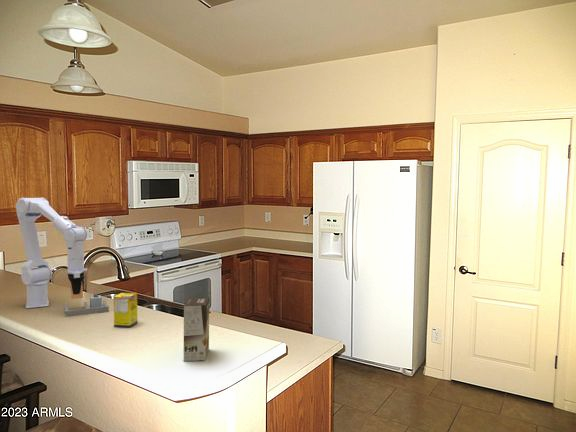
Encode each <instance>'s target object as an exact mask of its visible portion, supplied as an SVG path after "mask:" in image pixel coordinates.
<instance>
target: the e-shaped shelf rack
mask: <svg viewBox="0 0 576 432" xmlns="http://www.w3.org/2000/svg"><path fill="white" fill-rule="evenodd" d="M68 306H69V305H68V303H64V317H73V316H74V317H75V316H80V315H81V316H82V315H90V314H99V313H107V312H109V309H110V308H109V305H108V303H107V301H106V300H105V299H102V307H94V308H90V307H89V305H88V302H87V301H84V302H83V308H77V309H68V308H69V307H68Z"/></svg>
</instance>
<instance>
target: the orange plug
mask: <svg viewBox="0 0 576 432" xmlns="http://www.w3.org/2000/svg"><path fill="white" fill-rule="evenodd" d="M83 287H84V285H83V284H82V285H81V290H80V294H73V290H72V285H71V284H70V299H71V300H76V299H83V298H84V296H83V295H84V290H83V289H84V288H83Z"/></svg>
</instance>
